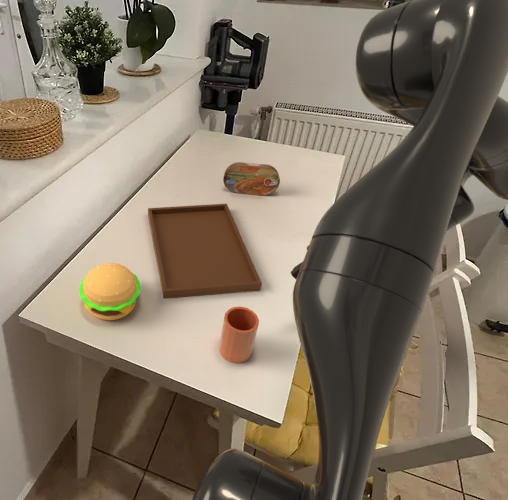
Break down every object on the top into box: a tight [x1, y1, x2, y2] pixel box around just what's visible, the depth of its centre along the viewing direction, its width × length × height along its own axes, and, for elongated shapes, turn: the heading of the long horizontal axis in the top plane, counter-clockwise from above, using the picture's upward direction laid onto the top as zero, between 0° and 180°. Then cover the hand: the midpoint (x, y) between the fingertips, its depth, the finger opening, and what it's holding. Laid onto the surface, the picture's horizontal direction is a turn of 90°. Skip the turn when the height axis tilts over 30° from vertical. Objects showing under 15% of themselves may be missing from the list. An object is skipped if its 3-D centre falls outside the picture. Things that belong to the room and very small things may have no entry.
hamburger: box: [78, 262, 142, 321], centre depth 84 cm, size 12×12×9 cm
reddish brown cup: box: [218, 306, 260, 364], centre depth 76 cm, size 6×6×8 cm
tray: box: [147, 203, 263, 299], centre depth 100 cm, size 30×21×2 cm
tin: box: [222, 161, 281, 196], centre depth 117 cm, size 15×3×8 cm, turn 80°
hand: (302, 294), depth 71 cm, fingers open, 8 cm apart
